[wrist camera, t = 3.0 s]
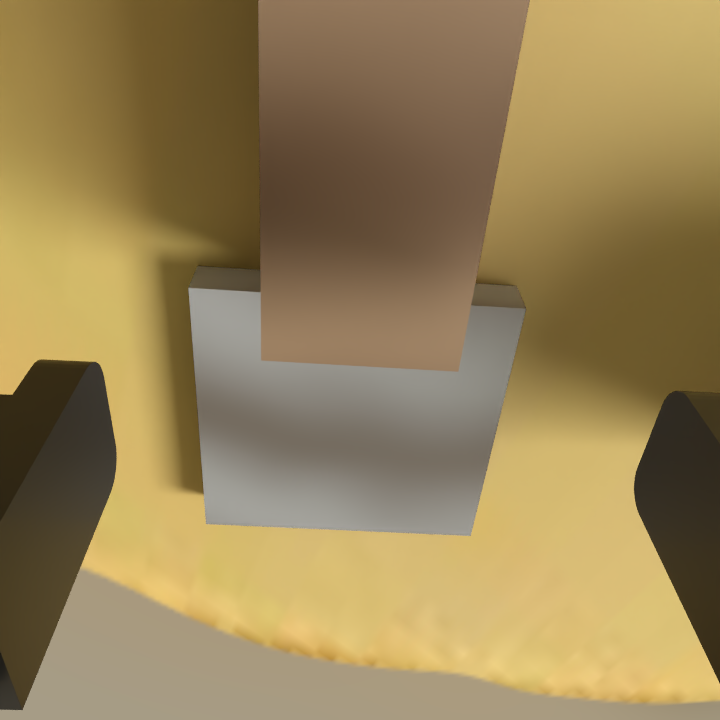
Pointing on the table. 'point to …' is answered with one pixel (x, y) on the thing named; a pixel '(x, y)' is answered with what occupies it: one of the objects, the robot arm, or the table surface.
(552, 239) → the table surface
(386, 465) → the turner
